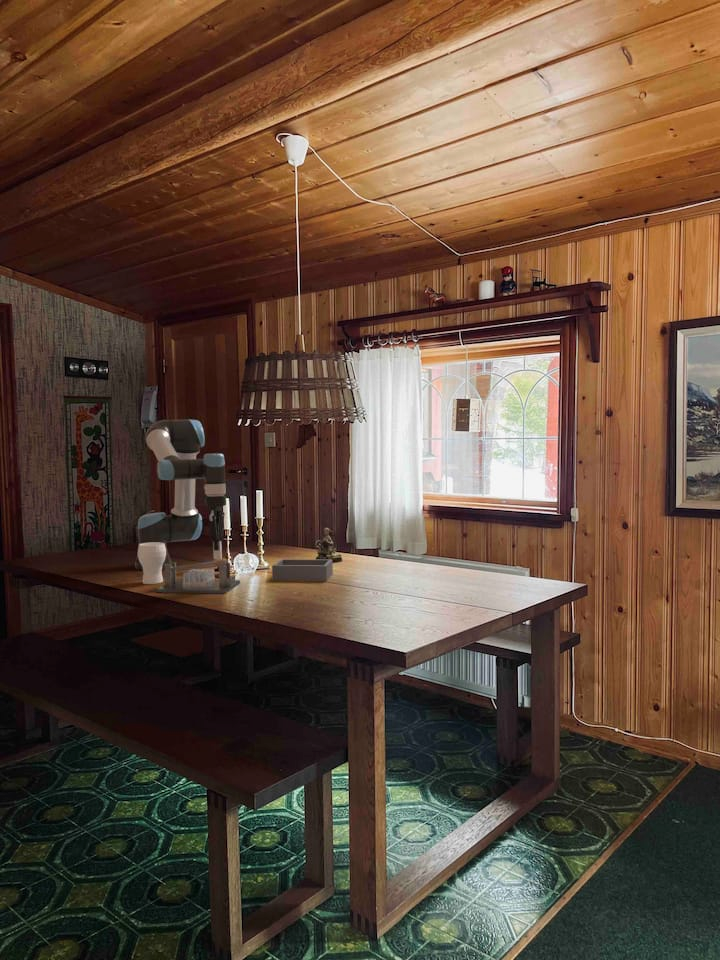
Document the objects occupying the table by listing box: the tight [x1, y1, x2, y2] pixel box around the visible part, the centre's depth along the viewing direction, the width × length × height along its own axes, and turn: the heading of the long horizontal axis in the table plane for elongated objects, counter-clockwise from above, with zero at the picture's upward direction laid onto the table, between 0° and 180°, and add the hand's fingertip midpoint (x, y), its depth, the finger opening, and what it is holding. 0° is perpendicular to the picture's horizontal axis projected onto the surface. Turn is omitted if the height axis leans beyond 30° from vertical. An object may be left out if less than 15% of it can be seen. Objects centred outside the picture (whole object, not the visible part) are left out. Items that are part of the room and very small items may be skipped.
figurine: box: [314, 527, 343, 564], centre depth 325 cm, size 12×11×15 cm
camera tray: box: [271, 558, 334, 582], centre depth 289 cm, size 14×21×6 cm
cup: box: [137, 542, 166, 585], centre depth 283 cm, size 11×11×15 cm
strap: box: [171, 557, 229, 571], centre depth 272 cm, size 23×3×2 cm, turn 83°
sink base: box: [155, 561, 241, 595], centre depth 272 cm, size 26×18×9 cm
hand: (217, 558), depth 270 cm, fingers closed
